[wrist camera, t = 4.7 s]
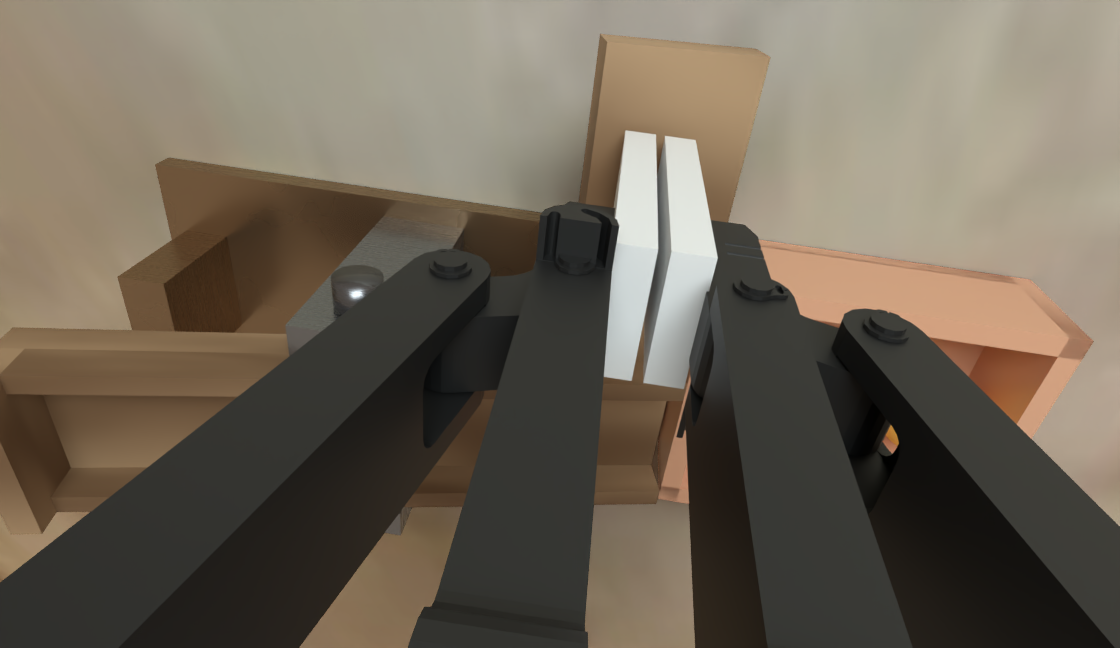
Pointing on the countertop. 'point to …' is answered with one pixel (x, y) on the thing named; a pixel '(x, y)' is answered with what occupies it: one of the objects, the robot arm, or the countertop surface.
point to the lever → (244, 358)
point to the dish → (941, 313)
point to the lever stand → (299, 251)
